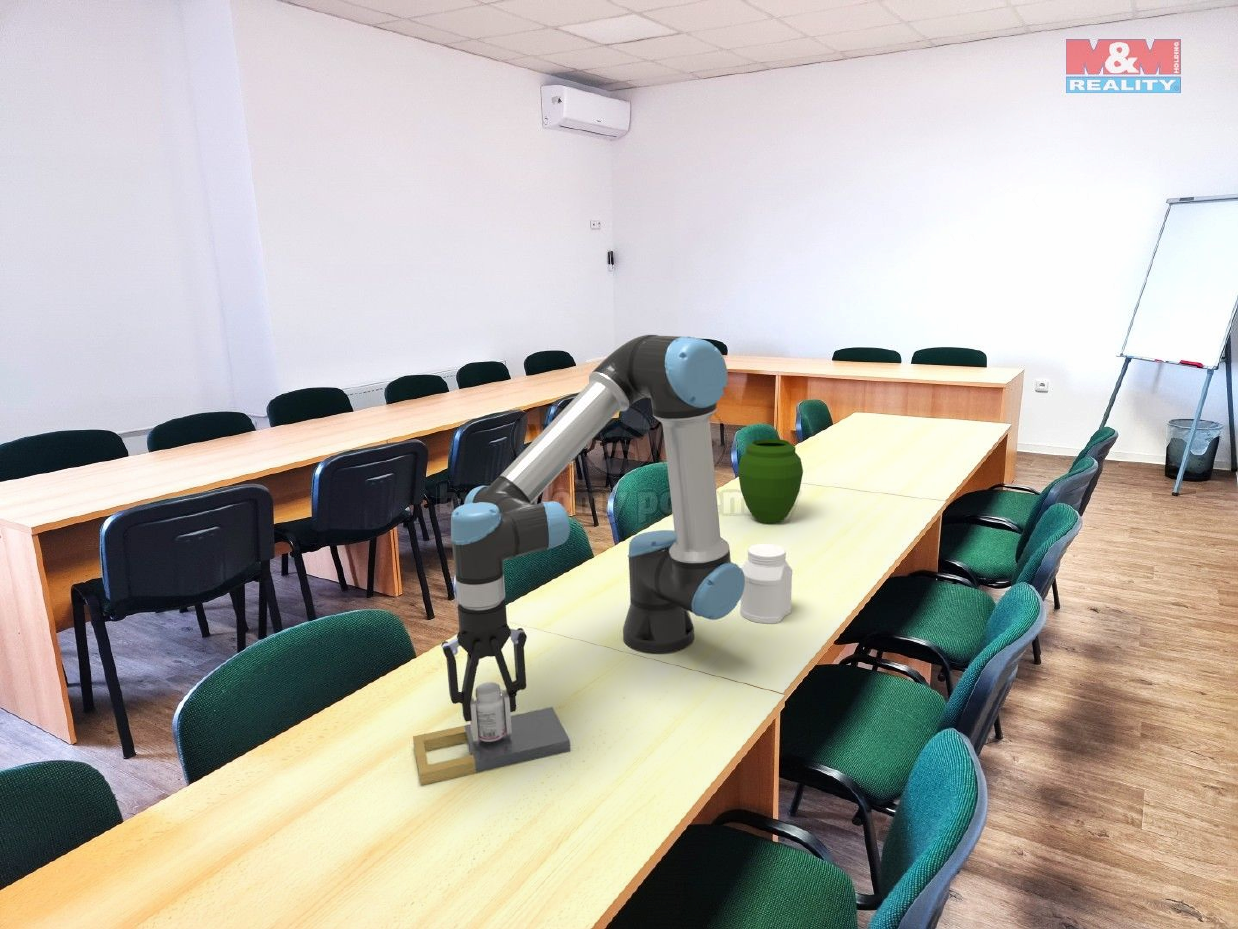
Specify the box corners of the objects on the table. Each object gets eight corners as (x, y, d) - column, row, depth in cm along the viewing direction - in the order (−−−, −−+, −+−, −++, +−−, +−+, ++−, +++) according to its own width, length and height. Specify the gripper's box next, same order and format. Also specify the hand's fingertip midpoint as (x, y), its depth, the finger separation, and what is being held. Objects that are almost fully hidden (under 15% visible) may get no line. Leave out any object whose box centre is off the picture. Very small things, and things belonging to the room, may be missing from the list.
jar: (774, 627, 173) (775, 562, 169) (734, 617, 178) (735, 554, 175) (795, 608, 182) (797, 546, 178) (757, 599, 187) (758, 539, 184)
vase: (765, 506, 259) (766, 433, 253) (815, 519, 244) (817, 442, 238) (724, 519, 247) (724, 443, 241) (773, 534, 232) (775, 453, 226)
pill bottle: (492, 723, 134) (489, 677, 132) (512, 732, 131) (508, 686, 129) (470, 736, 131) (466, 689, 129) (490, 746, 128) (486, 698, 126)
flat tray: (552, 717, 141) (552, 706, 140) (570, 751, 131) (569, 740, 130) (413, 747, 133) (412, 736, 132) (420, 785, 123) (419, 774, 122)
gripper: (530, 584, 132) (538, 710, 137) (421, 601, 126) (433, 732, 132) (542, 600, 125) (549, 733, 130) (426, 620, 119) (439, 757, 125)
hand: (491, 732), depth 131 cm, fingers closed on pill bottle, 5 cm apart
